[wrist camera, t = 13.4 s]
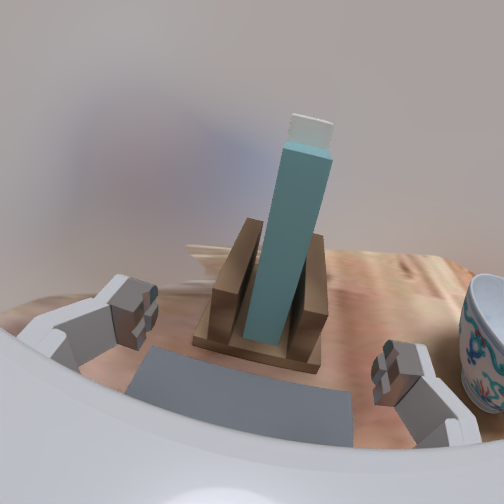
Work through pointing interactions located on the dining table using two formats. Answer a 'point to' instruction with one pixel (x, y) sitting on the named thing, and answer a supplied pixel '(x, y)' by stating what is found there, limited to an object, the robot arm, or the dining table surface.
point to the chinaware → (483, 342)
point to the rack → (238, 301)
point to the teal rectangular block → (289, 226)
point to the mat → (243, 400)
